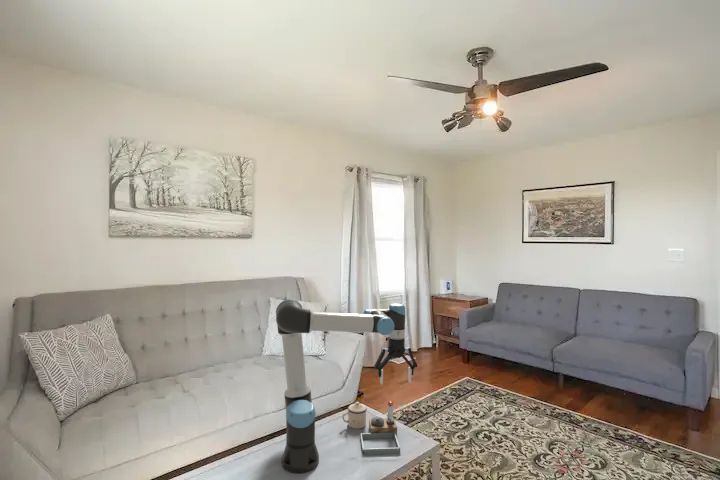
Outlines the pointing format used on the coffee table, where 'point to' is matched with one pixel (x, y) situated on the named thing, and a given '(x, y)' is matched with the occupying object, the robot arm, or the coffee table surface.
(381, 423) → the tan wooden block
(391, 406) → the pin
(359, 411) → the teacup with lid
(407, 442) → the coffee table surface
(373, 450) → the tray
